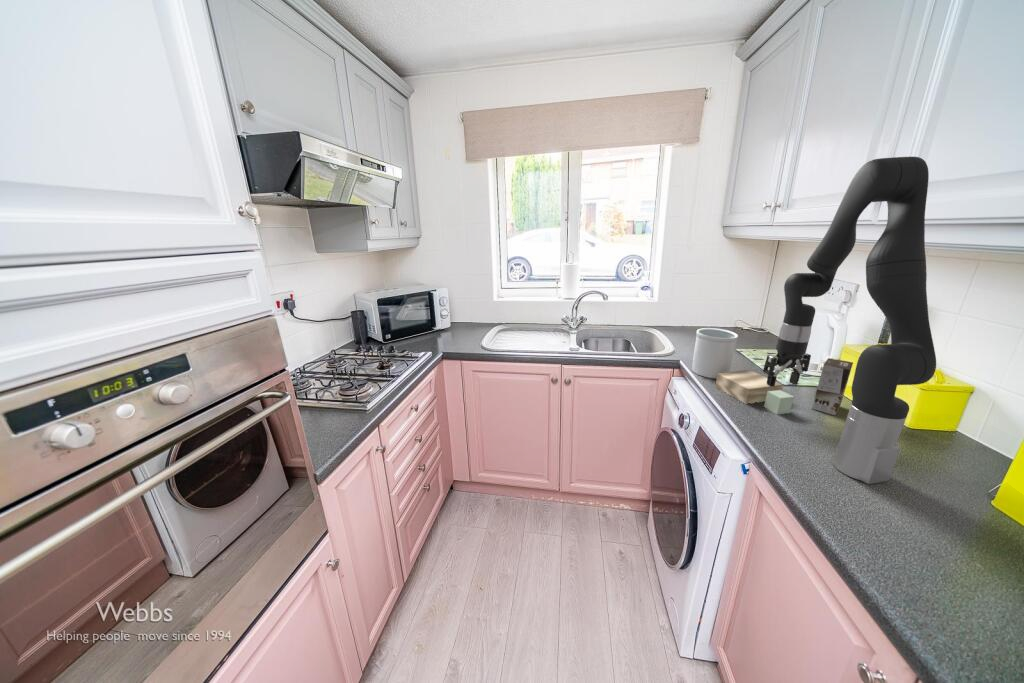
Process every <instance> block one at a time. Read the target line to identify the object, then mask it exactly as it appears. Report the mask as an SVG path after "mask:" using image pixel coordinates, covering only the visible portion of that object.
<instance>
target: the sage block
mask: <svg viewBox="0 0 1024 683" xmlns="http://www.w3.org/2000/svg"><path fill="white" fill-rule="evenodd" d="M794 399H795V397H794V396H793V395H791V394H790V393H788V392H786V391H783V390H782V389H781V390H776V391H767V396H766V400H765V401H764V404H763V408H764V407H765V408H764V409H766V408H767V409H766V410H768V411H770V412H771V413H773V414H775V415H784V414H785V413H786V414H791V411H792V406H793V402H794Z"/></svg>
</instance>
